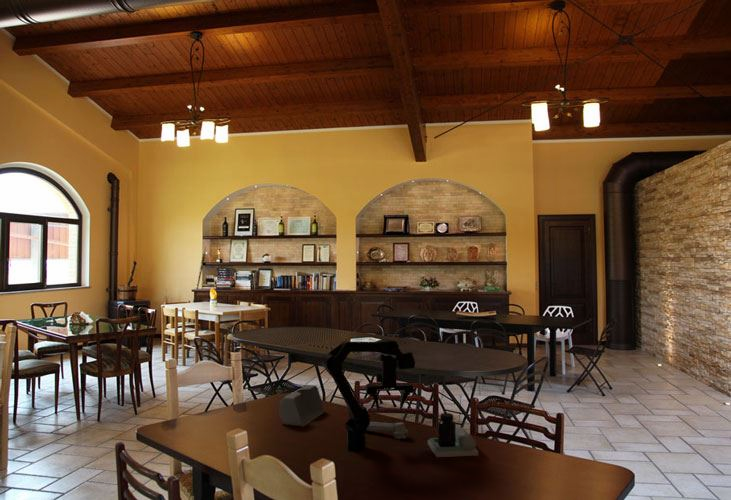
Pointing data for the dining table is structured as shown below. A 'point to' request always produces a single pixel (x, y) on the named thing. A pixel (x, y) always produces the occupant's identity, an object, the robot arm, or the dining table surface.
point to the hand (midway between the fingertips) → (389, 410)
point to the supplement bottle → (446, 431)
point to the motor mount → (462, 447)
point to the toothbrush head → (389, 428)
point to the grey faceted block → (301, 406)
